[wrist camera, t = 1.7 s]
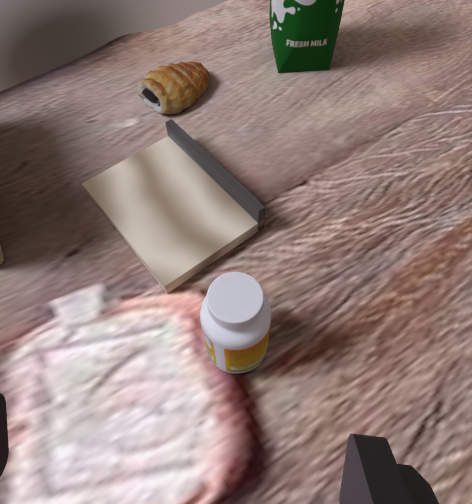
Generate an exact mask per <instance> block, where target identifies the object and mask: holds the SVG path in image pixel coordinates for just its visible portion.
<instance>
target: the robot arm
mask: <svg viewBox="0 0 472 504" xmlns="http://www.w3.org/2000/svg"><path fill="white" fill-rule="evenodd" d="M8 452H9V448H8V431H7V414H6V401H5V398H4V396H3V395H2V394H1V393H0V476H1V475H2V473H3V471H4V468H5V466H6V463H7V459H8ZM340 504H439V503H438V500H437V498H436V496H435V494H434V492H433V490H432V488H431V486H430V484H429V483H428V482H427V481H426V480H425V479H424V478H423V477H422V476H421V475H420V474H419V473H418V472H417V471H416V470H415V469H414V468H413V467H412V466H410V465H402V464H397V463H396V461H395V458H394V456H393V453H392V451H391V448H390V446H389V443H388V441H387V439H386V438H384V437H375V436H367V435H358V434H350V436H349V438H348V443H347V449H346V456H345V463H344V470H343V476H342V483H341V490H340Z"/></svg>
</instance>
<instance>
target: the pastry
mask: <svg viewBox="0 0 472 504" xmlns="http://www.w3.org/2000/svg"><path fill="white" fill-rule="evenodd" d="M209 82H210V76H209V72H208V70H207V69H206V68H204V67H203V65H202V64H201V63H197V62H187V63H183V62H180V63H178V64H172V63H171V64H169V65H168V66H159V67H158V69H157V71H149V72H148V73H147V75H146V77H145V79H142V80H141V83H140V84H139V86H138V89H137V90H138V94H139V96H140V97H141V98H142V99H143V100H144V103H145V104H146V105H148V106H150V107H152V108H154V109H155V110H156V111H157V112H158V113H160V114H176V113H179V112H181V111H182V110H183V109H185V108H189V107H190V106H191V105H192V104H193V103H194V102H195V101H196V100H198V98H199V97H200V96H201V95H202V94H203V93H204V92H205V91H206V90H207V88H208V85H209Z"/></svg>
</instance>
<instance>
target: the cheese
mask: <svg viewBox="0 0 472 504" xmlns="http://www.w3.org/2000/svg"><path fill="white" fill-rule="evenodd" d="M3 262H4V256H3V252H2V249H1V245H0V265H1V264H3Z"/></svg>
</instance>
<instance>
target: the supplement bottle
mask: <svg viewBox="0 0 472 504" xmlns="http://www.w3.org/2000/svg"><path fill="white" fill-rule="evenodd" d="M200 320H201V326H202V330H203V335H204V339H205V344H206V349H207V352H208V355H209V357H210V359H211V360H212V362H213V363H214V364H215V365H216V366H217V367H218V368H220V369H222V370H223V371H226V372H229V373H245V372H248V371H250V370H252V369H254V368H255V367H257V366H258V365H259V364H260V363H261V361H262V360H263V359H264V357H265V354H266V352H267V348H268V340H269V333H270V325H271V307H270V304H269V301H268V299H267V297H266V296H265V294H264V293H263V290H262V287H261V286H260V284H259V283H258V281H257V280H256V279H254V278H253V277H252V276H250V275H248V274H245V273H242V272H229V273H226V274H223V275H221V276H219V277H218V278H216V279H215V280H214V281H213V282H212V284H211V285H210V287H209V289H208V292H207V295H206V297H205V299H204V301H203V303H202V306H201V311H200Z"/></svg>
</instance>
